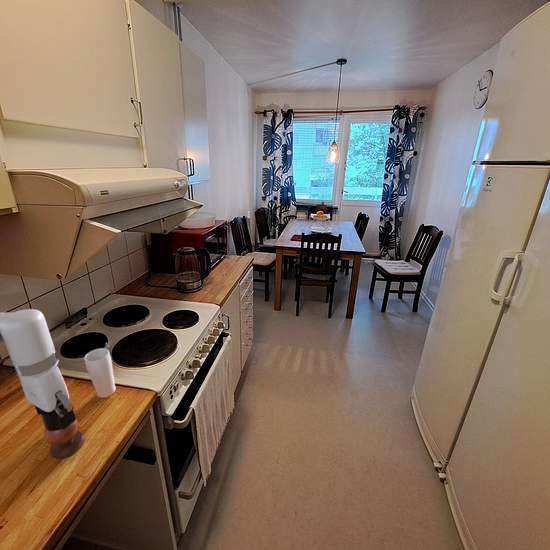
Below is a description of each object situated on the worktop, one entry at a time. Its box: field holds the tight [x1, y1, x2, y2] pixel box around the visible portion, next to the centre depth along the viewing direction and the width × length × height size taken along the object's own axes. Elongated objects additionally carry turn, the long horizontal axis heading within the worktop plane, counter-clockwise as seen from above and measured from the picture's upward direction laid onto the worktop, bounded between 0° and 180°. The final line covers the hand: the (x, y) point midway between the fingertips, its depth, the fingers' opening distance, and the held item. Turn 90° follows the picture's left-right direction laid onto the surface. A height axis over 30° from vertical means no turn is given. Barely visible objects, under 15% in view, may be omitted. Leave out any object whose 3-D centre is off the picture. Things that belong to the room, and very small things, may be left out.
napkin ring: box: [40, 400, 65, 431], centre depth 71 cm, size 6×6×5 cm
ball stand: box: [43, 418, 85, 460], centre depth 74 cm, size 7×7×10 cm
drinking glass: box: [83, 347, 117, 399], centre depth 90 cm, size 7×7×15 cm
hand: (56, 417), depth 71 cm, fingers open, 9 cm apart
